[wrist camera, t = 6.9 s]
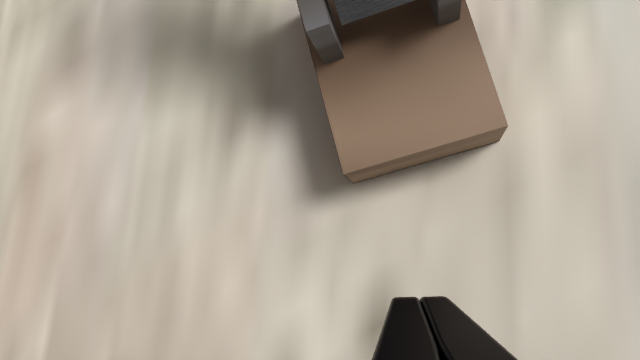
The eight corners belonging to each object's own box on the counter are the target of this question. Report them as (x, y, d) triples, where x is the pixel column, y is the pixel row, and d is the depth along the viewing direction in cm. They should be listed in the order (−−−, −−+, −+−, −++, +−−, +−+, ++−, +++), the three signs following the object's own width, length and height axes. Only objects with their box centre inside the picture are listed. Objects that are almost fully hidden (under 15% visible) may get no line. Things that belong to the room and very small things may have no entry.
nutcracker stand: (499, 140, 21) (521, 101, 15) (353, 183, 22) (327, 159, 16) (440, -37, 22) (441, -129, 17) (306, 11, 23) (268, -62, 18)
